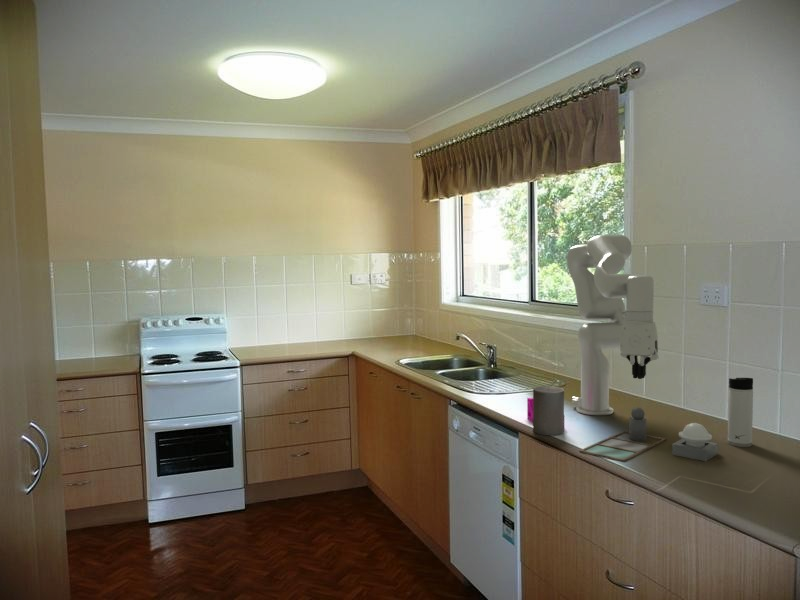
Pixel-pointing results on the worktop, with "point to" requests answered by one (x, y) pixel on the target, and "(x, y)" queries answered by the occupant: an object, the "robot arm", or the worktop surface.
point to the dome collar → (695, 450)
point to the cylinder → (637, 425)
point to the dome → (695, 435)
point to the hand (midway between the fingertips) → (638, 377)
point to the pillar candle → (548, 410)
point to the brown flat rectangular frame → (619, 447)
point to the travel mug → (740, 412)
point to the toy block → (530, 409)
